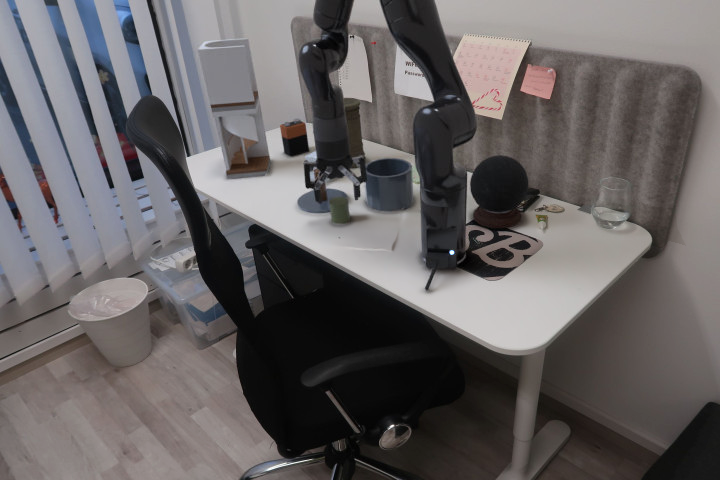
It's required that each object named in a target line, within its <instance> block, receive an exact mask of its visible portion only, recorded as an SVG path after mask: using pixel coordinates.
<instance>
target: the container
mask: <svg viewBox="0 0 720 480" xmlns="http://www.w3.org/2000/svg"><path fill="white" fill-rule="evenodd" d="M344 106H345V115H346V120H347V125H348V136H349V147H350V156H351V157H352V158H353V157H358V156H359V155H360V154H362V155H363V157H364V159H365V163H366V162H367V158H366V156H365V155H366V153H365V152H366V151H364V141H363V136H362V123H361V114H360V108H361V107H360V106H361V101H360V99H358V98H356V97H344ZM354 168H355V169H356V168H358V166H357V165H356V163H353V164H352V166H351V168H350V169H354Z"/></svg>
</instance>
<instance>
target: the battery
mask: <svg viewBox="0 0 720 480" xmlns="http://www.w3.org/2000/svg"><path fill="white" fill-rule="evenodd" d="M279 128H280V129H279V130H280V134H281V135H280V136H281V140H282V146H283V153H284V154H286V155H288V156H289V157H294V156H297V155H298V156H299V155H301V154H305V153H307V152H309V151H310V144H309V138H308V131H307V125H306V122H304V121H301V118H294V119H293V120H292V121H285V122H284V123H283V124H280V125H279Z"/></svg>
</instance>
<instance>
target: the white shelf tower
mask: <svg viewBox="0 0 720 480" xmlns="http://www.w3.org/2000/svg"><path fill="white" fill-rule="evenodd" d="M197 53H198V57H199V62H200V66H201V70H202V75H203V79H204V83H205V87H206V93H207V95H208V100H209V105H210V110H211V115H212V117H213V118H214V122H215V127H216V132H217V136H218V140H219V144H220V149H221V153H222V158H223V163H224V166H225V170H226V171H225V174H226V179H227V180H228V179H229V180H230V179H241V178H251V177H263V176H266V174H268V173H269V171H270V167H271V166H270V165H271V156H270V151H269V146H268V145H269V144H268V140H267V134H266V129H265V128H266V127H265V124H264V123H265V122H264V118H263V112H262V108H261V107H262V106H261V101H260V96H259V90H258V85H257V80H256V73H255V68H254V62H253V57H252V51H251V46H250V40H249V37H245V38H244V37H243V38H230V39H218V40H204V41H203V42H202V43H201V45H200V46H199V47H198V48H197Z"/></svg>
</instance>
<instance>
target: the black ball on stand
mask: <svg viewBox="0 0 720 480" xmlns="http://www.w3.org/2000/svg"><path fill="white" fill-rule="evenodd" d="M469 186H470V187H469V189H470V193H471V196H472V198H473V200H474V202H475V203H476V205H478V206H477V207H476V209H474V211H473V214H472V215H473V220H474V221H475V222H476V223H477V224H478V225H480V226H482V227H485V228H487V229H488V228H489V229H496V230H497V229H499V230H500V229H508V228H512V227H516V226H517V225H519V223H521V221H522V212H521V211H520V209H519V208H518V207H519V206H520V205H522V202H523V201H524V200H525V198H526V196H527V194H528V191H529V190H528V189H529V178H528V173H527V171H526V170H525V168H524V166H523V165H522V164H521V163H520V162H519V161H518V160H516V159H515V158H513V157H512V156H511V157H510V156H508V155H502V154H499V155H492V156H489V157H487V158H485V159H483V160H482V161H481V162H479V164H477V166H475V168H474V170H473V171H472V174H471V177H470V180H469Z"/></svg>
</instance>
